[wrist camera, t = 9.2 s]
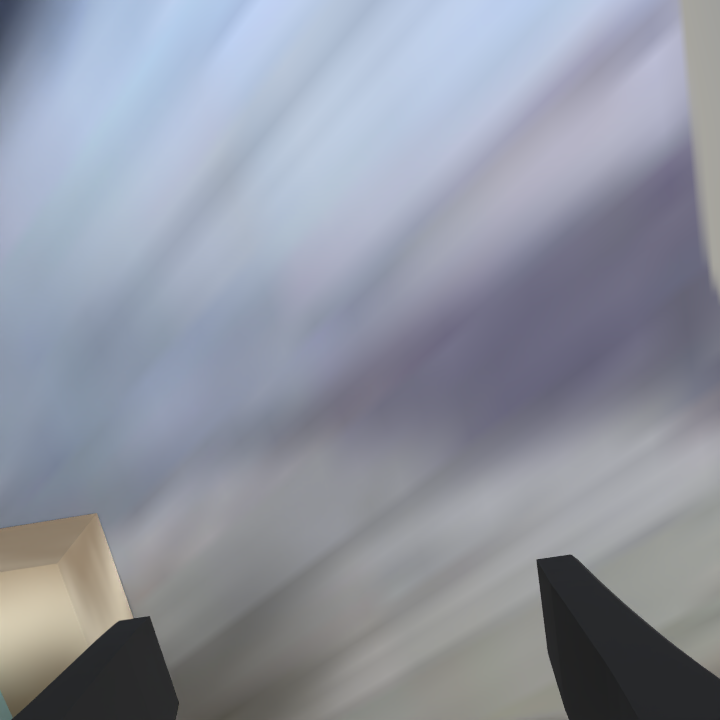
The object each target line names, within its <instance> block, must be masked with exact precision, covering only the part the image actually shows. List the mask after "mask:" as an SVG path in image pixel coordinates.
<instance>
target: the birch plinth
mask: <svg viewBox="0 0 720 720" xmlns="http://www.w3.org/2000/svg"><path fill="white" fill-rule="evenodd" d="M127 619H133V616H132V613H131V610H130V607H129V604H128V601H127V598H126V596H125V593H124V590H123V587H122V584H121V581H120V578H119V575H118V573H117V570H116V567H115V564H114V561H113V558H112V555H111V552H110V550H109V547H108V544H107V541H106V538H105V535H104V532H103V529H102V527H101V524H100V521H99V518H98V515H97V513H95V514H89V515H83V516H76V517H70V518H64V519H58V520H51V521H45V522H39V523H33V524H26V525H20V526H14V527H8V528H1V529H0V691H1V693H2V695H3V697H4V700H5V702H6V704H7V706H8V708H9V711H10V713H11V715H12V717H13V718H14V717H15V716H16V715H17V714H18V713H19V712H20V711H22V710H23V709H24V708H25V707H26V706H27V705H28V704H29V703H30V702H31V701H32V700H33V699H34V698H36V697H37V696H38V695H39V694H40V693H41V692H42V691H43V690H44V689H45V688H46V687H47V686H48V685H49V684H50V683H51V682H53V681H54V680H55V679H56V678H57V677H58V676H59V675H60V674H61V673H62V672H63V671H64V670H65V669H66V668H67V667H68V666H69V665H71V664H72V663H73V662H74V661H75V660H76V659H77V658H78V657H79V656H80V655H81V654H82V653H83V652H84V651H85V650H86V649H87V648H88V647H90V646H91V645H92V644H93V643H94V642H95V641H96V640H97V639H98V638H99V637H100V636H101V635H103V634H104V633H105V632H106V631H107V630H108V629H109V628H111V627H112V626H113V625H114V624H115V623H117V622H118V621H121V620H127Z"/></svg>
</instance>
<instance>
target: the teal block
mask: <svg viewBox="0 0 720 720" xmlns="http://www.w3.org/2000/svg"><path fill="white" fill-rule="evenodd" d="M12 718H13V717H12V715H11V713H10V711H9V708H8V706H7V704H6V702H5V700H4V697H3V695H2V693H1V691H0V720H11V719H12Z"/></svg>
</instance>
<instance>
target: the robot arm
mask: <svg viewBox="0 0 720 720" xmlns="http://www.w3.org/2000/svg"><path fill="white" fill-rule="evenodd" d="M537 568H538V576H539V584H540V592H541V600H542V608H543V617H544V625H545V633H546V641H547V649H548V655H549V658H550V661H551V665H552V668H553V671H554V675H555V678H556V682H557V685H558V688H559V691H560V695H561V698H562V701H563V704H564V708H565V711H566V713H567V715H568V718H569V720H720V679H719V678H718V677H717V676H715V675H714V674H712V673H711V672H710V671H708V670H707V669H705V668H704V667H703V666H701V665H700V664H699V663H697V662H696V661H695V660H693V659H692V658H691V657H689V656H688V655H687V654H685V653H684V652H683V651H681V650H680V649H679V648H677V647H676V646H675V645H673V644H672V643H671V642H670V641H668V640H667V639H666V638H665V637H663V636H662V635H661V634H660V633H658V632H657V631H656V630H655V629H654V628H653V627H651V626H650V625H649V624H648V623H647V622H645V621H644V620H643V619H642V618H641V617H639V616H638V615H637V614H636V613H635V612H633V611H632V610H631V609H630V608H629V607H628V606H627V605H625V604H624V603H623V602H622V601H621V600H620V599H619V598H618V597H617V596H615V595H614V594H613V593H612V592H611V591H610V590H609V589H608V588H607V587H606V586H605V585H604V584H602V583H601V582H600V581H599V580H598V579H597V578H596V577H595V576H594V575H593V574H592V573H591V572H590V571H589V570H588V569H587V568H586V567H585V566H584V565H583V564H582V563H581V562H580V561H579V560H578V559H576V558H575V557H574V556H572V555H565V556H558V557H551V558H544V559H537ZM178 705H179V702H178V699H177V696H176V693H175V690H174V687H173V684H172V681H171V678H170V675H169V672H168V669H167V666H166V663H165V660H164V657H163V654H162V652H161V649H160V646H159V643H158V640H157V637H156V634H155V631H154V628H153V625H152V622H151V619H150V616H148V617H141V618H134V619H127V620H121V621H118V622H117V623H115V624H114V625H113V626H112V627H111V628H109V629H108V630H107V631H106V632H105V633H104V634H103V635H101V636H100V637H99V638H98V639H97V640H96V641H95V642H94V643H93V644H92V645H91V646H90V647H88V648H87V649H86V650H85V651H84V652H83V653H82V654H81V655H80V656H79V657H78V658H77V659H76V660H75V661H74V662H73V663H72V664H71V665H69V666H68V667H67V668H66V669H65V670H64V671H63V672H62V673H61V674H60V675H59V676H58V677H57V678H56V679H55V680H54V681H53V682H51V683H50V684H49V685H48V686H47V687H46V688H45V689H44V690H43V691H42V692H41V693H40V694H39V695H38V696H37V697H36V698H34V699H33V700H32V701H31V702H30V703H29V704H28V705H27V706H26V707H25V708H24V709H23V710H22V711H20V712H19V713H18V714H17V715H16V716H15V717H14V718H12V719H11V720H176V715H177V710H178Z"/></svg>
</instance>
